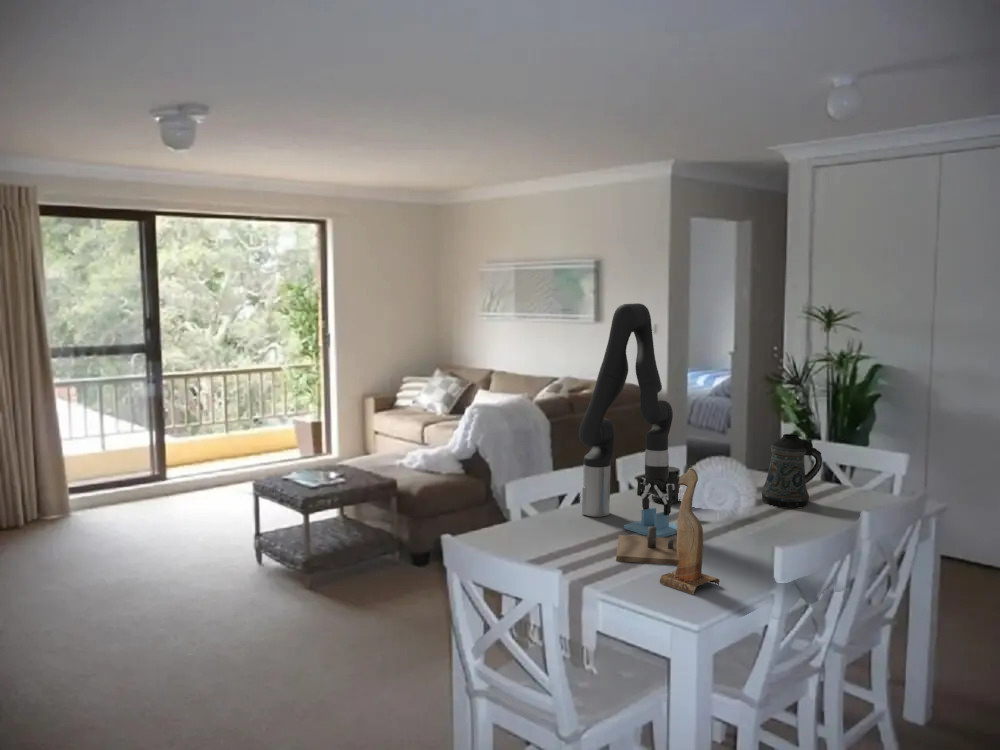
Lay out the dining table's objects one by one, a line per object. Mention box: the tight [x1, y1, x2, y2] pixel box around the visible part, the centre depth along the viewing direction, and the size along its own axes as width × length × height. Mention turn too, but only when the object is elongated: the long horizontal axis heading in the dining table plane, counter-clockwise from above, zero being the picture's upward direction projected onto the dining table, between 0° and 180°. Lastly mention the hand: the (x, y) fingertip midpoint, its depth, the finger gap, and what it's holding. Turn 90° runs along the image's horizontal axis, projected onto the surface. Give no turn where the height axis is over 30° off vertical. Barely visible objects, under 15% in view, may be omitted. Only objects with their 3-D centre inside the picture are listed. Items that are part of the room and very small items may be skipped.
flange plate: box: [623, 507, 678, 538], centre depth 267 cm, size 14×14×6 cm
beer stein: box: [761, 433, 823, 509], centre depth 301 cm, size 16×19×25 cm
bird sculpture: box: [659, 467, 720, 595], centre depth 218 cm, size 11×12×32 cm
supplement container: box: [650, 466, 681, 505], centre depth 303 cm, size 10×10×12 cm
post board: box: [615, 526, 679, 566], centre depth 245 cm, size 20×20×8 cm
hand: (656, 512), depth 267 cm, fingers open, 8 cm apart
